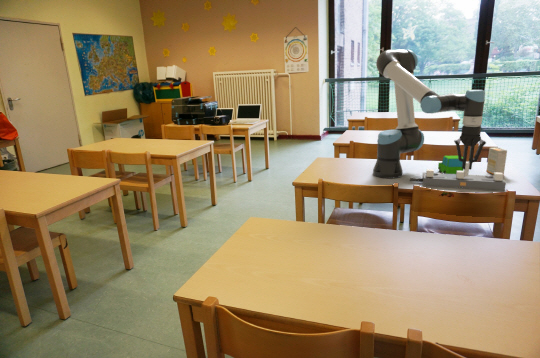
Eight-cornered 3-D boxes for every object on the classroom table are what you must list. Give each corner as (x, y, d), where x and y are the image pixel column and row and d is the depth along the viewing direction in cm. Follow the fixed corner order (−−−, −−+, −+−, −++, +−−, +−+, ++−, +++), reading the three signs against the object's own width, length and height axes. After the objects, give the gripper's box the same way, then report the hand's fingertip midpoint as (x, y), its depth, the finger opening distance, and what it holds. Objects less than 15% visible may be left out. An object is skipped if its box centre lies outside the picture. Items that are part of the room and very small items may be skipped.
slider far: (494, 180, 165) (495, 174, 164) (493, 178, 168) (494, 172, 167) (502, 180, 164) (503, 174, 163) (500, 178, 167) (501, 172, 166)
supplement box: (504, 175, 186) (508, 150, 183) (494, 175, 187) (498, 150, 183) (495, 171, 194) (498, 147, 191) (485, 171, 194) (489, 147, 191)
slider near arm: (426, 176, 175) (427, 170, 174) (426, 175, 177) (426, 169, 176) (433, 177, 174) (433, 171, 173) (432, 175, 176) (433, 169, 175)
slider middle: (456, 178, 170) (457, 172, 169) (455, 176, 173) (456, 170, 172) (463, 178, 169) (464, 172, 168) (463, 176, 172) (463, 170, 171)
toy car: (454, 170, 199) (456, 152, 196) (464, 177, 186) (467, 158, 183) (435, 170, 200) (436, 152, 197) (444, 177, 187) (445, 158, 184)
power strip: (409, 185, 177) (410, 177, 176) (409, 179, 186) (410, 171, 185) (505, 191, 164) (507, 182, 163) (500, 184, 173) (501, 176, 172)
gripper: (456, 126, 162) (451, 177, 169) (490, 126, 158) (483, 179, 164) (454, 124, 169) (449, 173, 176) (486, 124, 164) (480, 174, 171)
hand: (465, 175), depth 170 cm, fingers closed
